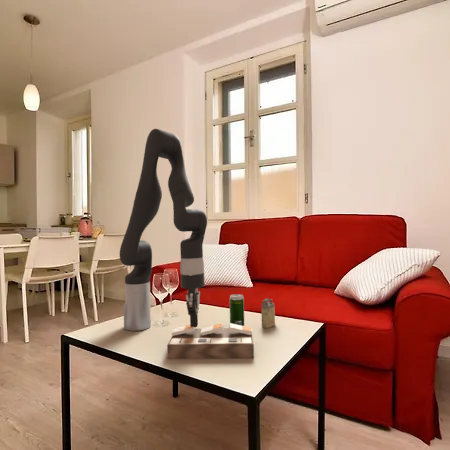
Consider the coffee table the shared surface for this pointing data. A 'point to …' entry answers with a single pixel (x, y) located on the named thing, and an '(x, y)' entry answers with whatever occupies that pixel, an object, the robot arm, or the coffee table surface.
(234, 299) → the beer can
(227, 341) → the switch console
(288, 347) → the coffee table surface
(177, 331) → the rocker left
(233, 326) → the rocker right
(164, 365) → the coffee table surface
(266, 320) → the lighter
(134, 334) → the coffee table surface
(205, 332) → the rocker middle
